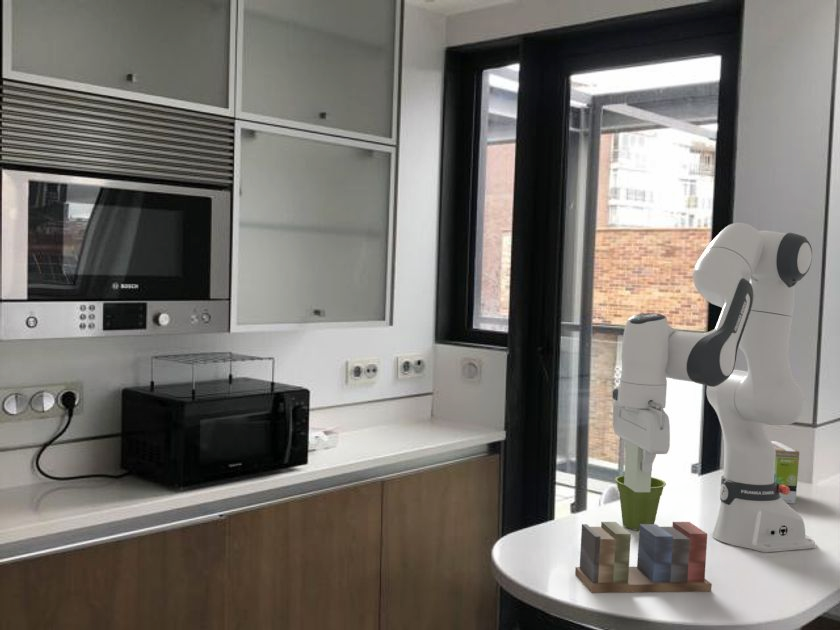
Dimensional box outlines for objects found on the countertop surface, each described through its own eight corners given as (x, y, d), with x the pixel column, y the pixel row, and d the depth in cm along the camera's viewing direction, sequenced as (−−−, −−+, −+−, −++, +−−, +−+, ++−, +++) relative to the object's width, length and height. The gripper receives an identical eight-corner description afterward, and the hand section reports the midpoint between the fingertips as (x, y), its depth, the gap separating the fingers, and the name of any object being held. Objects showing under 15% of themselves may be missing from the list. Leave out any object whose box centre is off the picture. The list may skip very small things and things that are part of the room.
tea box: (797, 504, 242) (800, 450, 241) (760, 502, 242) (763, 449, 241) (775, 490, 257) (779, 439, 256) (741, 489, 257) (744, 438, 256)
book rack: (688, 573, 181) (691, 520, 181) (711, 591, 171) (714, 535, 171) (575, 574, 178) (578, 520, 177) (591, 592, 168) (594, 535, 167)
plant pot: (602, 522, 216) (605, 476, 216) (642, 518, 221) (644, 473, 220) (633, 536, 205) (636, 488, 205) (673, 532, 210) (676, 485, 210)
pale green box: (638, 484, 177) (640, 439, 176) (650, 492, 171) (653, 446, 170) (623, 484, 176) (626, 439, 176) (635, 492, 170) (638, 445, 170)
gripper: (680, 406, 163) (676, 480, 163) (638, 389, 183) (634, 456, 184) (648, 405, 162) (643, 480, 162) (608, 389, 182) (605, 455, 183)
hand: (638, 467), depth 173 cm, fingers closed on pale green box, 6 cm apart
